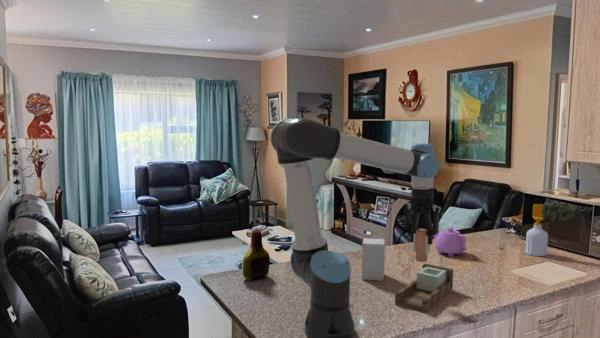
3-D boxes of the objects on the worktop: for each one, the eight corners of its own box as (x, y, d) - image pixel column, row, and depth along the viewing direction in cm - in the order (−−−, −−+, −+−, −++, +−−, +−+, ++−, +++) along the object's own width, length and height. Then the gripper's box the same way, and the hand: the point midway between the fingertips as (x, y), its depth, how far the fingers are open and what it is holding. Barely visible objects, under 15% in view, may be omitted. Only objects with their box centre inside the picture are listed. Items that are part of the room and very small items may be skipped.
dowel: (424, 262, 160) (424, 232, 158) (413, 260, 162) (414, 230, 161) (429, 259, 163) (429, 229, 161) (418, 257, 165) (418, 228, 164)
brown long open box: (425, 312, 150) (426, 289, 149) (394, 304, 157) (395, 282, 156) (452, 289, 171) (453, 269, 170) (424, 283, 177) (425, 263, 177)
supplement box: (383, 281, 179) (384, 244, 178) (361, 279, 181) (361, 243, 179) (384, 274, 188) (385, 238, 187) (362, 272, 190) (363, 237, 188)
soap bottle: (527, 255, 215) (530, 204, 212) (524, 250, 224) (526, 201, 221) (548, 257, 212) (551, 205, 210) (544, 252, 221) (547, 202, 218)
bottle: (266, 273, 188) (266, 226, 186) (273, 278, 182) (273, 229, 180) (239, 278, 182) (239, 229, 180) (245, 283, 176) (245, 233, 174)
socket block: (437, 293, 162) (437, 277, 162) (416, 288, 167) (416, 272, 167) (445, 286, 170) (446, 270, 169) (425, 281, 174) (426, 266, 174)
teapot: (421, 250, 223) (422, 225, 222) (440, 245, 231) (441, 221, 230) (456, 260, 207) (457, 233, 206) (475, 255, 215) (476, 229, 214)
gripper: (449, 187, 157) (448, 253, 160) (405, 184, 167) (404, 245, 170) (441, 190, 151) (440, 258, 154) (395, 186, 162) (395, 250, 164)
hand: (421, 251), depth 162 cm, fingers closed on dowel, 4 cm apart
